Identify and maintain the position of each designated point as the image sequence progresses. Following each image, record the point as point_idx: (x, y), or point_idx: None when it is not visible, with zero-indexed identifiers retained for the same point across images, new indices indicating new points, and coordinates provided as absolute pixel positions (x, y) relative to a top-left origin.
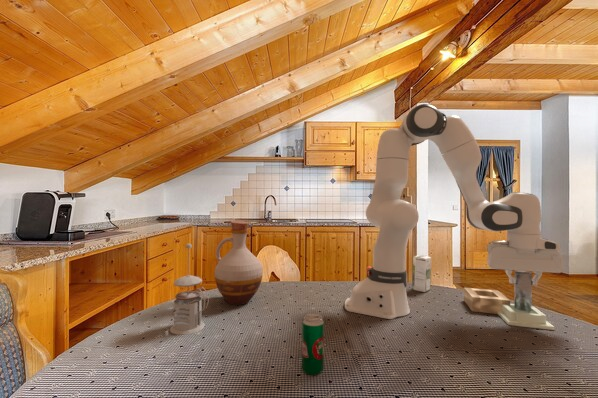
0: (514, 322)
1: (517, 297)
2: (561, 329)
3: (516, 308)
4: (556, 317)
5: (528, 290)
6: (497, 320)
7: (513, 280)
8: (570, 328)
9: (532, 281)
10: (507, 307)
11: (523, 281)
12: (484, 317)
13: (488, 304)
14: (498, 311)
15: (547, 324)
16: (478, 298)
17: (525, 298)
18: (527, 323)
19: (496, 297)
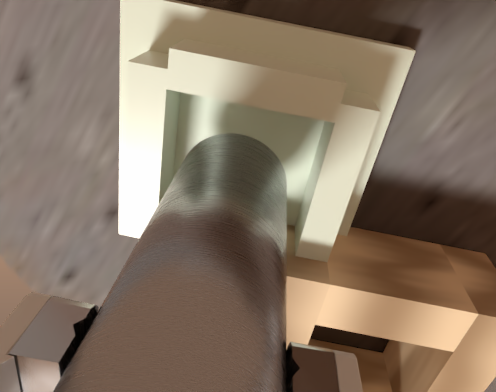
0: (375, 42)
1: (282, 222)
2: (75, 15)
3: (285, 178)
4: (20, 203)
5: (183, 231)
6: (428, 122)
7: (333, 384)
8: (10, 42)
9: (71, 339)
10: (332, 204)
11: (226, 329)
12: (483, 164)
13: (409, 270)
14: (346, 229)
15: (147, 33)
16: (488, 311)
17: (232, 183)
18: (286, 33)
19: (337, 323)
